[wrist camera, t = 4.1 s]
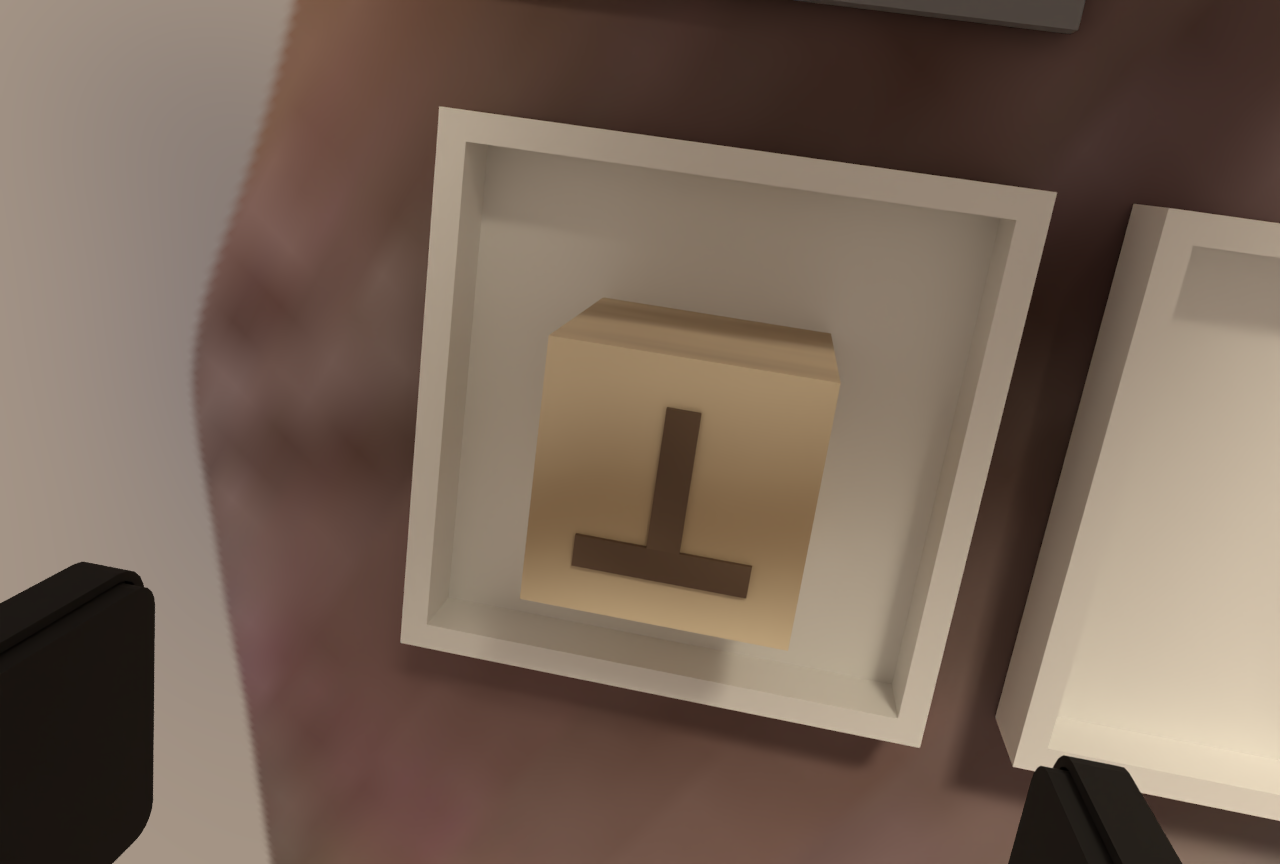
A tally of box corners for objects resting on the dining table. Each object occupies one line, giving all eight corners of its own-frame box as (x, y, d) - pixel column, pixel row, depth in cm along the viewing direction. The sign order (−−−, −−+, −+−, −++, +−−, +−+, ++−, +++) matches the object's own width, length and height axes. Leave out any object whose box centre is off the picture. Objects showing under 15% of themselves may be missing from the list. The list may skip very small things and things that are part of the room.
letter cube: (603, 297, 22) (547, 336, 17) (830, 333, 21) (841, 384, 16) (576, 512, 23) (517, 605, 18) (789, 551, 23) (787, 658, 18)
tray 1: (470, 111, 22) (439, 106, 20) (1032, 189, 20) (1056, 192, 18) (430, 606, 25) (400, 642, 23) (910, 700, 24) (919, 747, 22)
